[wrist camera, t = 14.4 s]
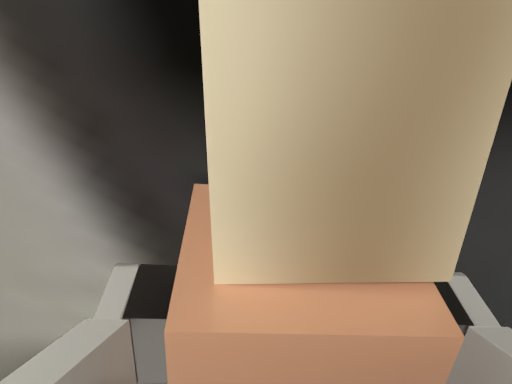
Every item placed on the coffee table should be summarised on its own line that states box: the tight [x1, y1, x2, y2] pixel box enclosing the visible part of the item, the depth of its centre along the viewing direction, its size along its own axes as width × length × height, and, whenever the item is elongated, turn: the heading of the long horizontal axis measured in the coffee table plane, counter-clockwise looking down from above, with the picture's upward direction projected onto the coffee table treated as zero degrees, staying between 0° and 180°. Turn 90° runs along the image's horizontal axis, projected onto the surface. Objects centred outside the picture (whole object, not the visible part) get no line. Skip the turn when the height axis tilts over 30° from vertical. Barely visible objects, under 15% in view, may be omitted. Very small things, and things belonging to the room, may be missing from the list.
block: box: [164, 184, 465, 384], centre depth 9 cm, size 4×4×4 cm
